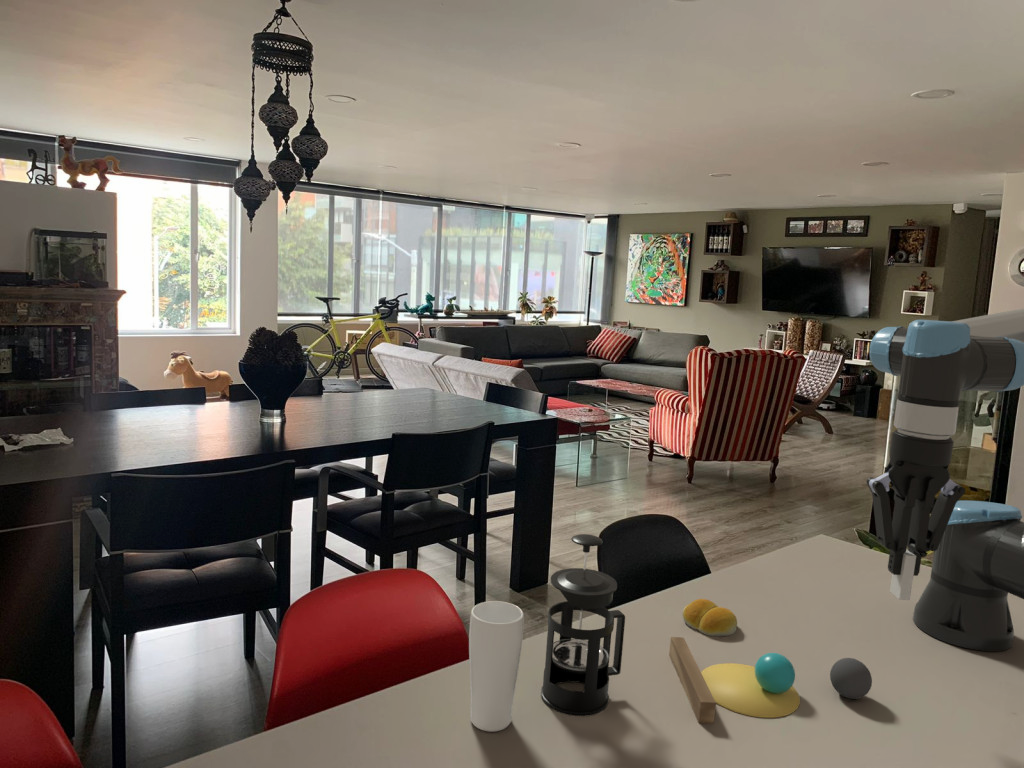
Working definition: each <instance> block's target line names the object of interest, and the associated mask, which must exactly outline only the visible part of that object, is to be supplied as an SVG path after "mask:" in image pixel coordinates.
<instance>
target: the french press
mask: <svg viewBox="0 0 1024 768" xmlns="http://www.w3.org/2000/svg"><path fill="white" fill-rule="evenodd" d="M570 539H571V541H572V542H573V543H574V544H576V545H579V546H582V552H583V553H584V558H583V559H584V561H583V567H582V568H581V567H579V568H578V567H575V568H574V567H572V568H571V567H570V568H564V569H560V570H557V571H555V572H554V573H552V575H551V576H550V583H551V585H552V586H553V587H554V588H555V589H556V590H558V591H559V592H560V593H561V594H562V595H563V597H564V598H565V600H566V601H561V602H557V603H555V604H553V605H552V606H550V607H549V609H548V612H547V634H546V635H547V636H546V647H545V649H546V650H545V663H544V670H543V679H542V680H543V681H542V686H541V689H540V697H541V699H542V701H543V703H544V704H545V705H546V706H547V707H549V708H550V709H551V710H553V711H556V712H558V713H561V714H565V715H568V716H572V717H573V716H574V717H588V716H594V715H596V714H599V713H601V712H603V711H605V709H606V708H607V707H608V705H609V702H610V696H609V683H610V677H612V676H617V675H620V674H621V671H622V659H623V646H624V636H625V624H626V616H625V615H626V614H625V613H623V612H622V611H621V610H620V609H615V610H609V609H608V608H606V607H608V606H610V604H612V602H613V596H614V592H616V590H617V589H618V583H617V580H616V579H615V578H614V577H612V576H611V575H609V574H607V573H604V572H602V571H599V570H595V569H589V568H587V563H588V562H587V561H588V553H590V551H591V547H597V546H600V545H602V544H603V542H604V541H603V539H602V538H601V537H598V536H596V535H594V534H588V533H579V534H575V535H573V536H572V537H571V538H570ZM574 611H579V619H578V621H579V623H578V628H573V618H574V617H573V616H574ZM583 612H587V613H591V614H592V613H593V614H595V615H598V616H601V617H602V618H604V627H601V628H597V629H582V626H583V625H582V624H583ZM557 613H561V614H560V616H561V617H560V623H559V622H557V621H556V620H555V619H553V616H554V615H556V614H557ZM615 619H616V629H615V638H614V639H615V640H614V651H613V662H612V665H611V666H609V665H610V656H611V655H610V654H611V642H612V633H613V631H614V625H615ZM555 633H556V634H558V635H559V640H556V641H554V639H555ZM602 639H603V643H602V645H601V640H602ZM564 682H565V683H567V682H573V683H580V684H584V685H583V691H576V690H570V689H566V688H563V687H561V686H559V685H558V684H562V683H564Z"/></svg>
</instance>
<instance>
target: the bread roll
mask: <svg viewBox="0 0 1024 768" xmlns="http://www.w3.org/2000/svg"><path fill="white" fill-rule="evenodd" d="M681 614H682V615H681V616H682V619H683V620H684V622H685V623H686V625H687V626H688V627H690V628H692V629H694V630H697V631H699V632H700V633H701V634H705V635H706V636H710V637H711V636H712V637H713V636H714V637H728V635H729V636H732V635H733V634H734V633H735V632H736V630H737V626H738V619H737V616H736V615H735V614H734V613H733V611H732V610H730V609H728V608H726V607H721V606H720V607H719V606H718V605H717V604H716V603H715V602H713V601H711V600H709V599H706V598H698V599H696V600H692V601H691V602H690V603H689V604H687V605H686V606H685V607H684V608H683V609H682V613H681ZM731 634H732V635H731Z"/></svg>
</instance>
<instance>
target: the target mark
mask: <svg viewBox="0 0 1024 768" xmlns="http://www.w3.org/2000/svg"><path fill="white" fill-rule="evenodd" d="M700 672H701V674H702V676H703V678H704V680H705V682H706V684H707V686H708V688H709V690H710V692H711V694H712V696H713V698H714V700H715V702H716V705H719V706H721V707H722V708H725V709H727V710H728V711H732V712H734V713H738V714H741V715H744V716H749V717H754V718H763V719H764V718H765V719H766V718H767V719H771V718H772V719H773V718H782V717H785V716H788V715H791V714H792V713H794V712H795V711H796V710H798V708H799V706H800V703H801V702H800V699H801V698H800V695H799V693H798V691H797V690H796V688H795V687H794V686H793V685H792V687H791V688H790V689H789V690H788V691H786V692H784V693H779V694H775V693H771V692H768V691H766V690H765V689H763V688H762V687H761V686H760V685H759V683H758V681H757V680H756V677H755V666H753V665H749V664H744V663H743V664H742V663H734V662H733V663H731V662H730V663H726V662H725V663H716V664H712V665H710V666H707V667H706V668H704V669H703V670H701V671H700Z"/></svg>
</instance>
